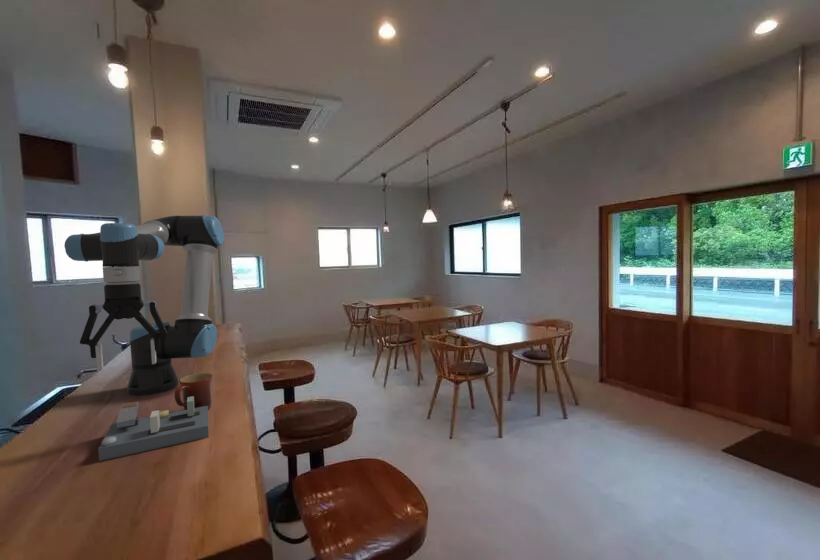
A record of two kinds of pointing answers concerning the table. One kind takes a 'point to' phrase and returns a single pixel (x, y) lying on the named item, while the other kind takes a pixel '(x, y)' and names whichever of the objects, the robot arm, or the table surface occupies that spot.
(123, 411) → the block
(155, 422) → the pale grey cuboid
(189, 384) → the mug
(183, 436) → the console
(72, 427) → the table surface
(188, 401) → the grey block
